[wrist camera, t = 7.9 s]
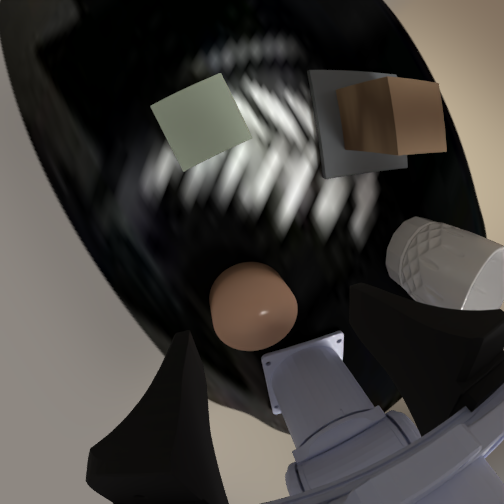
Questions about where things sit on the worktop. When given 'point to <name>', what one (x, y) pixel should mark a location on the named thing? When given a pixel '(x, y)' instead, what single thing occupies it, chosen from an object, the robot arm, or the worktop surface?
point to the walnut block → (392, 116)
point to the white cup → (446, 265)
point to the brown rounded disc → (251, 306)
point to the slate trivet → (330, 126)
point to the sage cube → (201, 121)
